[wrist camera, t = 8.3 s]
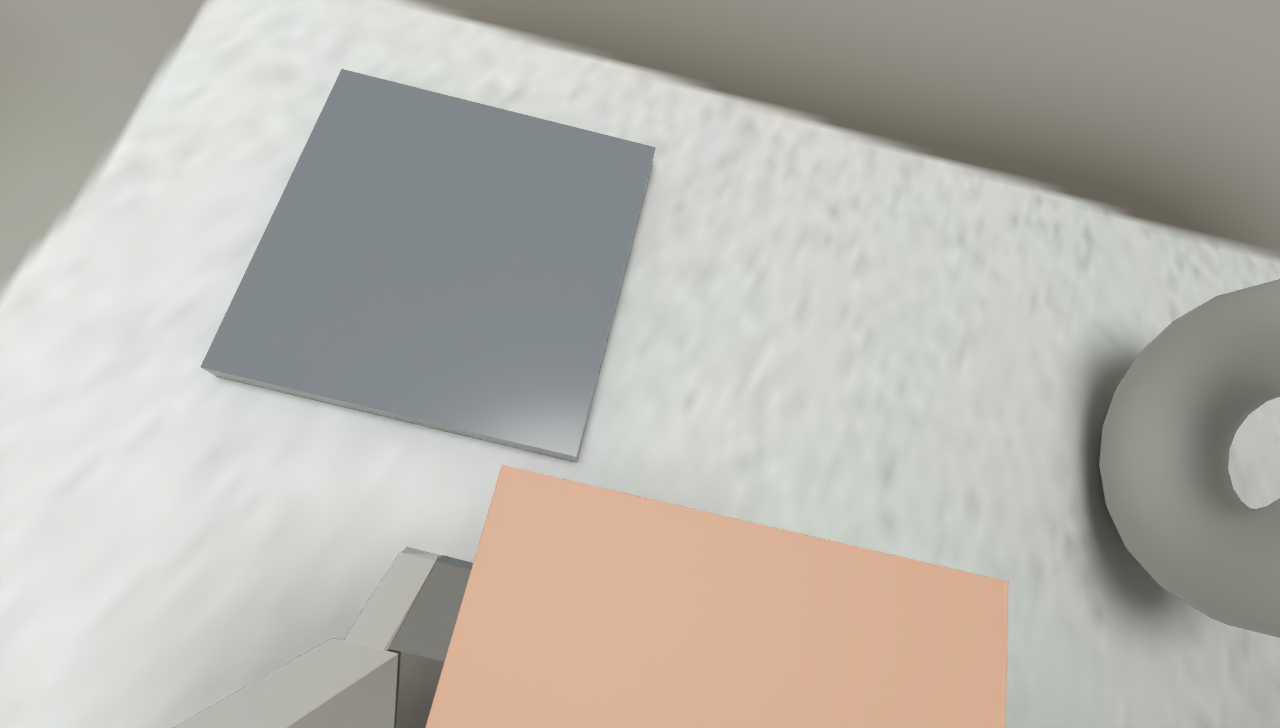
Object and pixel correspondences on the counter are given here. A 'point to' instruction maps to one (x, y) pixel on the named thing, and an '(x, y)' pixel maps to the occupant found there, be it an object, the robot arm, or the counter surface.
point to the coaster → (441, 267)
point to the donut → (1199, 458)
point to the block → (708, 624)
